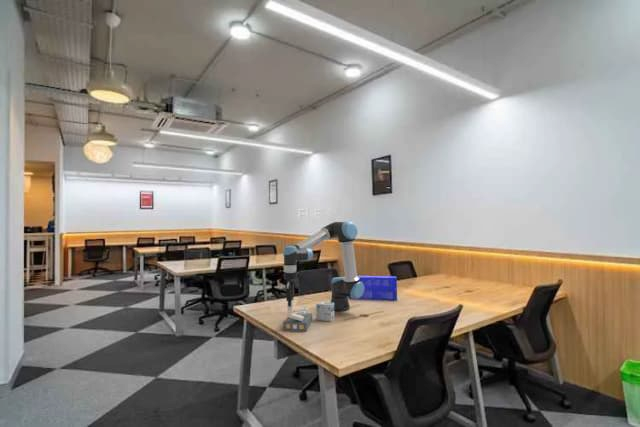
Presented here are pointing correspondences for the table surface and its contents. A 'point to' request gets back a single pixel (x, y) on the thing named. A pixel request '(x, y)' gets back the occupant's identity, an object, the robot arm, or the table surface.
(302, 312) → the rocker mid
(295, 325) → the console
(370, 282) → the toner cartridge box
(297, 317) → the rocker near
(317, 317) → the light bulb box
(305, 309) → the rocker far
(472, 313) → the table surface
